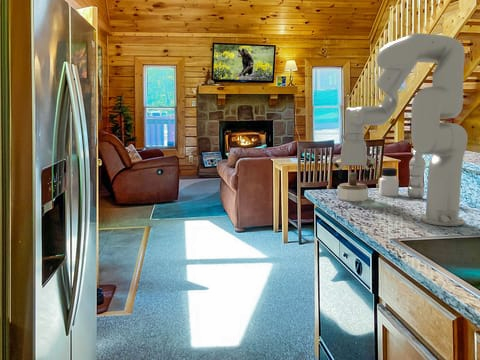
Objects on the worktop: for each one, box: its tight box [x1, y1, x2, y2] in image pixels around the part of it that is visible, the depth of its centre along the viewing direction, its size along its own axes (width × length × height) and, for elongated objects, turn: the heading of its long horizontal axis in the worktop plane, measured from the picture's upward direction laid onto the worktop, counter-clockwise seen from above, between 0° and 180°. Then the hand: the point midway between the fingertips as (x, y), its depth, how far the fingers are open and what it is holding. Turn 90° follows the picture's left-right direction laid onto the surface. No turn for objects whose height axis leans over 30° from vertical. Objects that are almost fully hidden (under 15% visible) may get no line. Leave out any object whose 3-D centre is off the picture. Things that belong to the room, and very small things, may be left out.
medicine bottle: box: [378, 167, 400, 197], centre depth 176 cm, size 7×7×12 cm
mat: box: [360, 200, 391, 208], centre depth 156 cm, size 10×10×1 cm
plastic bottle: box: [406, 149, 427, 199], centre depth 167 cm, size 6×7×20 cm
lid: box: [338, 172, 368, 190], centre depth 167 cm, size 11×11×6 cm
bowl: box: [337, 185, 369, 202], centre depth 168 cm, size 12×12×5 cm
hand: (352, 179), depth 167 cm, fingers open, 9 cm apart
